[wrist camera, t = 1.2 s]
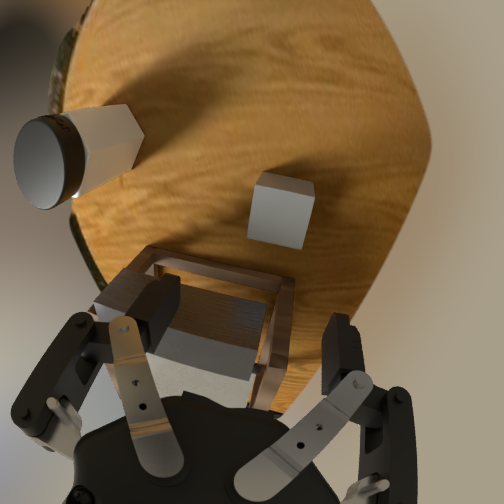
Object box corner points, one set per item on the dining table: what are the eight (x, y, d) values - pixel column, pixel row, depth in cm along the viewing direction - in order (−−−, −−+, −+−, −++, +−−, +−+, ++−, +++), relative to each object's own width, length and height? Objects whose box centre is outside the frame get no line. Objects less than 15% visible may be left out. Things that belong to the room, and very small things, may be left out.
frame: (146, 245, 33) (87, 311, 22) (294, 279, 32) (286, 370, 21) (154, 336, 42) (120, 399, 31) (267, 366, 41) (253, 440, 30)
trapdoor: (116, 265, 23) (85, 298, 19) (276, 306, 22) (269, 353, 18) (139, 374, 32) (123, 403, 28) (246, 405, 31) (239, 439, 27)
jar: (144, 99, 24) (63, 106, 14) (148, 170, 28) (76, 211, 18) (84, 111, 26) (6, 129, 15) (89, 173, 30) (19, 210, 19)
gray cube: (263, 171, 27) (255, 184, 22) (312, 181, 26) (315, 197, 22) (255, 216, 29) (246, 238, 25) (301, 227, 29) (301, 250, 25)
